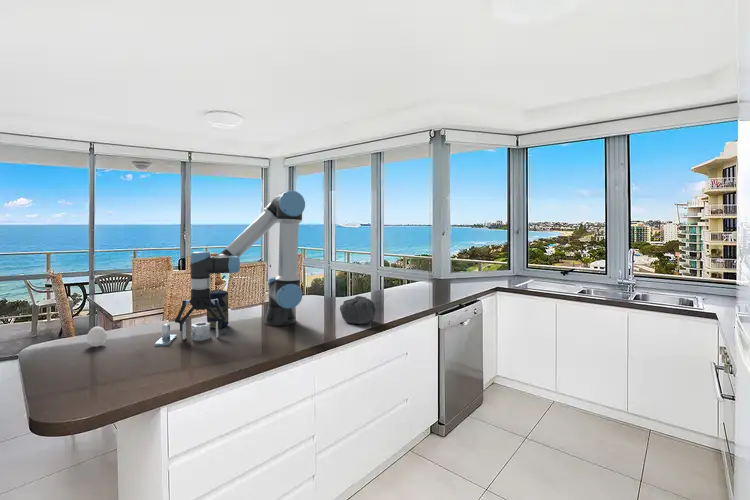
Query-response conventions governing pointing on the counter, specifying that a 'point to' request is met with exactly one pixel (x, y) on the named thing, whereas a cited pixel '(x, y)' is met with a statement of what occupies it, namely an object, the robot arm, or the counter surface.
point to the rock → (358, 310)
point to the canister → (223, 303)
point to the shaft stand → (165, 336)
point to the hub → (200, 331)
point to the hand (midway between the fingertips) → (201, 337)
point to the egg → (96, 336)
